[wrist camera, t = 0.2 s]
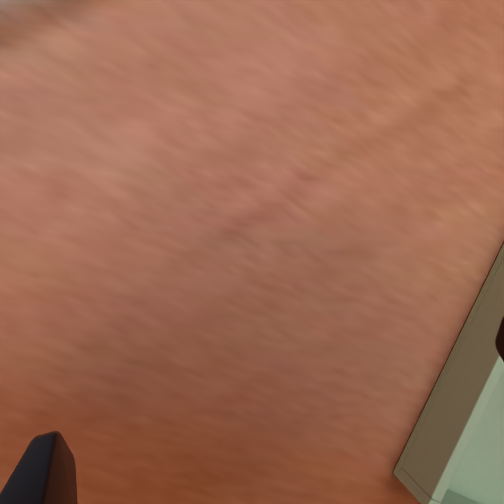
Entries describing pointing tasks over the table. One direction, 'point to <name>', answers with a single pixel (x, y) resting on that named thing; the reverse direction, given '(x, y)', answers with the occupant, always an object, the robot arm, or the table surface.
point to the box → (464, 414)
